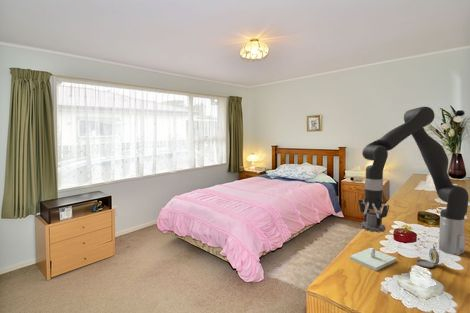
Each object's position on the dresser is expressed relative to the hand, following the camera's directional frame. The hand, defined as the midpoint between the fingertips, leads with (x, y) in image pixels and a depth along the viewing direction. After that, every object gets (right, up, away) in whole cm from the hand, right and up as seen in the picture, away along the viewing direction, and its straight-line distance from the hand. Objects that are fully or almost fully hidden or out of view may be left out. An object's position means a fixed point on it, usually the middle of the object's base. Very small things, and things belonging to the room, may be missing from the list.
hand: (372, 223), depth 121 cm
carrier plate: (+1, -18, +1) cm, 18 cm away
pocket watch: (+22, -18, -5) cm, 29 cm away
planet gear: (0, -2, 0) cm, 2 cm away
